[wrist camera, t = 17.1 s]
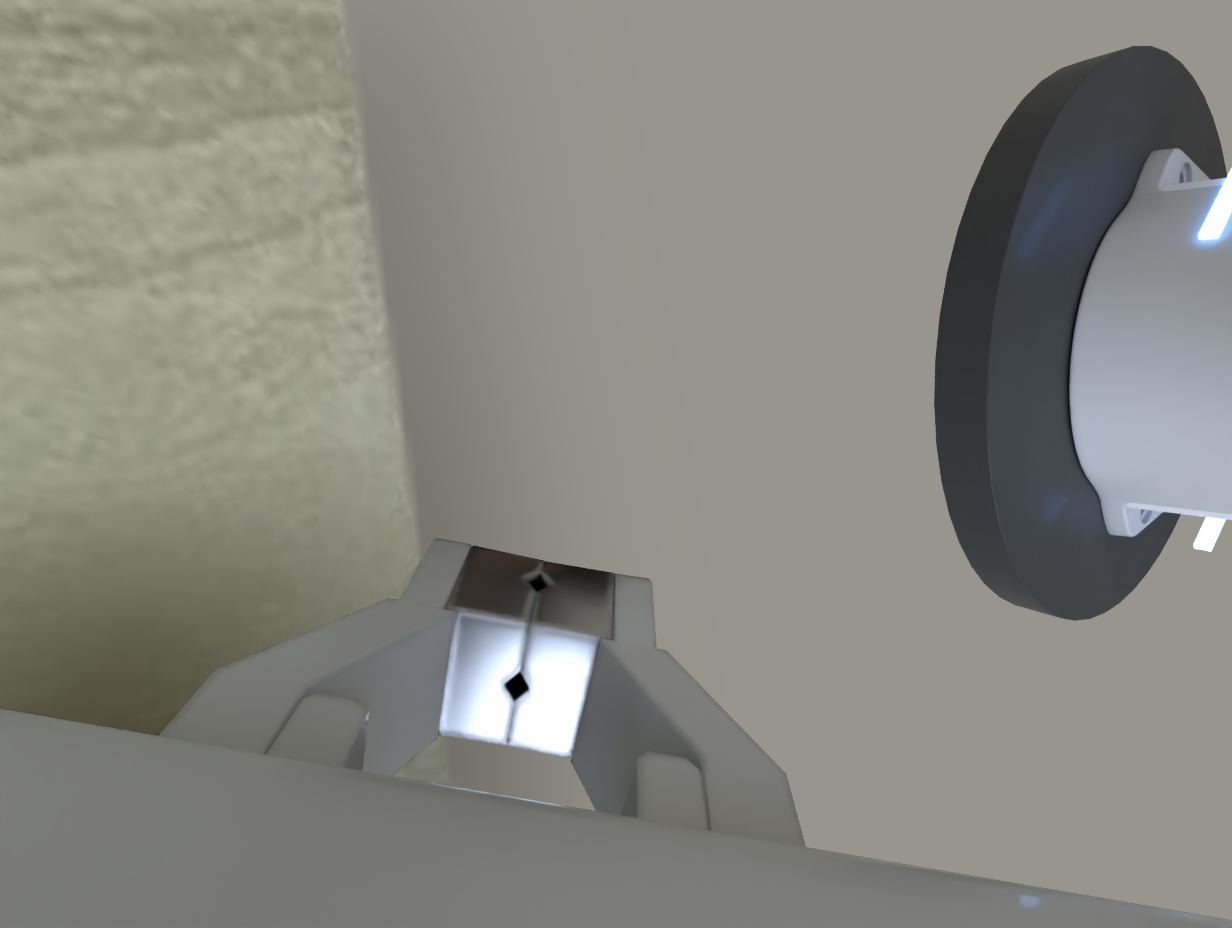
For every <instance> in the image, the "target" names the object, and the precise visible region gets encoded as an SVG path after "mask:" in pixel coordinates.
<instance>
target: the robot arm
mask: <svg viewBox="0 0 1232 928" xmlns="http://www.w3.org/2000/svg"><path fill="white" fill-rule="evenodd" d="M1069 397H1070V416H1071V426H1072V433H1073V439H1074V444H1075V448H1076V452H1077V455H1078V458H1079V461H1080V464H1081V467H1082V469H1083V471H1084V473H1085V475H1086V477H1087V478H1088V480H1089V481H1090V483H1091V484H1092V485H1093V487H1094V488H1095V490H1096V492H1097V493H1098V495H1099V498H1100V502H1101V507H1102V513H1103V518H1104V522H1105V526H1106V529H1107V531H1108V533H1109V534H1110V535H1117V536H1128V537H1133V536H1135V535H1137V534H1138V533H1139V532H1141V531H1142V530H1143V529H1144V528H1145V527H1146V526H1148V525H1149V524H1150V523H1151V522H1152V521H1153V520H1154V519H1156V518H1157V517H1158V516H1159V515H1160V514H1161V513H1163V512H1169V513H1177V514H1185V515H1194V516H1202V517H1206V519H1205V521H1204V523H1203V525H1202V527H1201V529H1200V532H1199V534H1198V536H1197V538H1196V540H1195V542H1194V544H1193V545H1194V548H1196V549H1201V550H1206V551H1212V548H1213V546H1214V544H1215V542H1216V539H1217V537H1218V535H1219V533H1220V531H1221V528H1222V526H1223V524H1224V522H1225V520H1232V169H1231V170H1230V172H1229V174H1228V176H1227V178H1221V179H1213V180H1210V179H1209V178H1208V177H1207V176H1206V175H1205V174H1204V173H1203V171H1202V170H1201V169H1200V168H1199V167H1198V166H1197V165H1196V164H1195V163H1194V162H1193V161H1192V160H1191V159H1190V158H1189V157H1188V156H1187V155H1186V154H1185V153H1184V152H1183V151H1182V150H1180V149H1178V148H1174V149H1163V150H1154V151H1152V152H1151V153H1150V154H1149V156H1148V157H1147V159H1146V161H1145V163H1144V166H1143V168H1142V170H1141V173H1140V175H1139V178H1138V181H1137V183H1136V186H1135V189H1134V192H1133V194H1132V197H1131V198H1130V200H1129V202H1128V203H1127V205H1126V206H1125V208H1124V209H1123V210H1122V212H1121V213H1120V214H1119V215H1118V217H1117V218H1116V219H1115V221H1114V222H1113V223H1112V225H1111V226H1110V228H1109V229H1108V231H1107V233H1106V234H1105V236H1104V238H1103V240H1102V242H1101V244H1100V246H1099V248H1098V250H1097V252H1096V255H1095V257H1094V260H1093V262H1092V265H1091V267H1090V270H1089V273H1088V276H1087V279H1086V282H1085V285H1084V289H1083V293H1082V296H1081V300H1080V305H1079V309H1078V314H1077V319H1076V324H1075V330H1074V336H1073V343H1072V352H1071V363H1070V384H1069ZM438 735H444V736H451V737H458V738H465V739H471V740H478V741H485V742H491V743H498V744H506V745H510V746H515V747H520V748H524V749H529V750H535V751H539V752H544V753H549V754H554V755H558V756H563V757H568V758H571V763H572V765H573V766H574V769H575V770H576V772H577V774H578V776H579V778H580V780H581V782H582V784H583V786H584V788H585V790H586V792H587V794H588V796H589V798H590V800H591V802H592V804H593V806H594V808H595V810H596V811H592V810H586V809H581V808H575V807H569V806H563V805H557V804H550V803H545V802H540V801H534V800H528V799H522V798H516V797H511V796H505V795H499V794H493V793H487V792H482V791H475V790H470V789H464V788H458V787H452V786H447V785H441V784H435V783H429V782H423V781H417V780H412V779H406V778H400V777H394V776H392V775H394V774H395V773H396V772H397V771H398V770H400V769H401V768H402V767H403V766H404V765H406V764H407V763H408V762H409V761H411V760H412V759H413V758H414V757H415V756H417V755H418V754H419V753H420V752H421V751H423V750H424V749H425V748H426V747H427V746H429V745H430V744H431V743H432V742H433V741H435V740H436V739H437V736H438ZM506 739H507V740H506ZM0 928H1232V920H1227V919H1221V918H1215V917H1209V916H1204V915H1198V914H1191V913H1187V912H1181V911H1175V910H1169V909H1163V908H1157V907H1152V906H1146V905H1140V904H1134V903H1128V902H1122V901H1116V900H1111V899H1105V898H1099V897H1093V896H1087V895H1081V894H1076V893H1069V892H1063V891H1059V890H1053V889H1047V888H1041V887H1035V886H1029V885H1024V884H1018V883H1011V882H1006V881H1000V880H994V879H989V878H983V877H977V876H971V875H965V874H959V873H954V872H947V871H942V870H935V869H930V868H924V867H919V866H912V865H907V864H901V863H895V862H890V861H883V860H877V859H872V858H866V857H860V856H854V855H849V854H843V853H837V852H831V851H825V850H819V849H814V848H807V847H806V846H805V842H804V839H803V835H802V831H801V827H800V824H799V820H798V816H797V812H796V809H795V805H794V801H793V797H792V794H791V790H790V786H789V782H788V779H787V775H786V773H785V772H784V771H783V770H782V769H781V768H780V767H779V766H778V765H777V764H776V763H775V762H774V761H773V760H772V759H771V758H770V757H769V756H768V755H767V754H766V753H765V751H763V750H762V748H761V747H760V746H759V745H758V744H757V743H756V742H755V741H754V740H753V739H752V738H751V737H750V736H749V735H748V734H747V733H746V732H745V731H744V730H743V729H742V728H741V727H740V726H739V725H738V724H737V723H736V722H735V721H734V720H733V719H732V717H730V715H729V714H728V713H727V712H726V711H725V710H724V709H723V708H722V707H721V706H720V705H719V704H718V703H717V702H716V701H715V700H714V699H713V698H712V697H711V696H710V695H709V694H708V693H707V692H706V691H705V690H704V689H703V688H702V687H701V686H700V684H699V683H697V681H695V680H694V678H692V676H691V675H690V674H689V673H688V672H687V671H686V670H685V669H684V668H683V667H682V666H681V665H680V664H679V663H678V662H677V661H676V660H675V659H674V658H673V657H672V656H671V655H670V654H669V653H668V652H667V651H665V650H661V649H656V634H655V620H654V605H653V591H652V582H651V581H650V580H649V579H647V578H641V577H634V576H627V575H621V574H614V573H611V572H605V571H599V570H593V569H587V568H581V567H575V566H569V565H563V564H558V563H552V562H546V561H543V560H538V559H534V558H529V557H524V556H519V555H515V554H510V553H506V552H501V551H496V550H492V549H487V548H482V547H478V546H471V545H470V544H466V543H460V542H454V541H449V540H443V539H434V540H433V541H431V543H430V545H429V547H428V548H427V550H426V552H425V554H424V556H423V558H422V559H421V561H420V563H419V565H418V567H417V568H416V570H415V572H414V574H413V576H412V578H411V579H410V581H409V583H408V585H407V587H406V589H405V590H404V592H403V594H402V596H401V598H400V600H395V599H389V598H388V599H386V600H383V601H381V602H378V603H376V604H374V605H371V606H369V607H366V608H364V609H362V610H359V611H357V612H354V613H352V614H349V615H347V616H345V617H342V618H340V619H337V620H335V621H333V622H330V623H328V624H325V625H323V626H320V627H318V628H316V629H313V630H311V631H308V632H306V633H304V634H301V635H299V636H296V637H294V638H292V639H289V640H287V641H284V642H282V643H279V644H277V645H275V646H272V647H270V648H267V649H265V650H263V651H260V652H258V653H255V654H253V655H250V656H248V657H246V658H243V659H241V660H238V661H236V662H234V663H231V664H229V665H226V666H224V667H222V668H219V669H217V670H214V671H213V672H212V674H211V675H210V676H209V677H208V678H207V679H206V681H205V682H204V683H203V684H202V685H201V686H200V688H199V689H198V690H197V691H196V692H195V694H194V695H193V696H192V697H191V698H190V699H189V701H188V702H187V703H186V704H185V705H184V706H183V708H182V709H181V710H180V711H179V712H178V713H177V715H176V716H175V717H174V718H173V719H172V721H171V722H170V723H169V724H168V725H167V726H166V728H165V729H164V730H163V731H162V732H161V733H160V735H159V736H156V735H150V734H144V733H138V732H132V731H127V730H121V729H115V728H109V727H103V726H98V725H92V724H86V723H80V722H74V721H69V720H63V719H57V718H51V717H45V716H39V715H34V714H28V713H22V712H16V711H10V710H5V709H0Z"/></svg>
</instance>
